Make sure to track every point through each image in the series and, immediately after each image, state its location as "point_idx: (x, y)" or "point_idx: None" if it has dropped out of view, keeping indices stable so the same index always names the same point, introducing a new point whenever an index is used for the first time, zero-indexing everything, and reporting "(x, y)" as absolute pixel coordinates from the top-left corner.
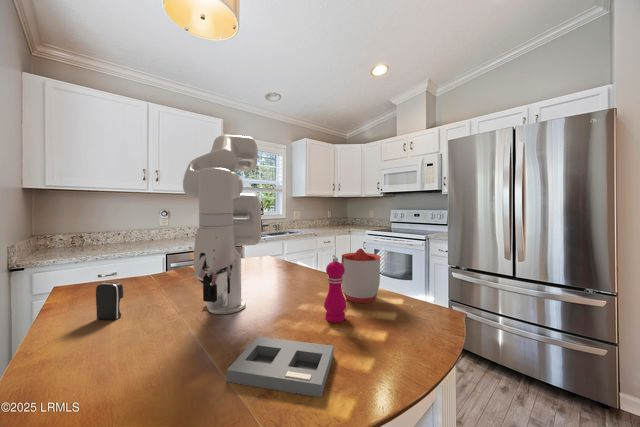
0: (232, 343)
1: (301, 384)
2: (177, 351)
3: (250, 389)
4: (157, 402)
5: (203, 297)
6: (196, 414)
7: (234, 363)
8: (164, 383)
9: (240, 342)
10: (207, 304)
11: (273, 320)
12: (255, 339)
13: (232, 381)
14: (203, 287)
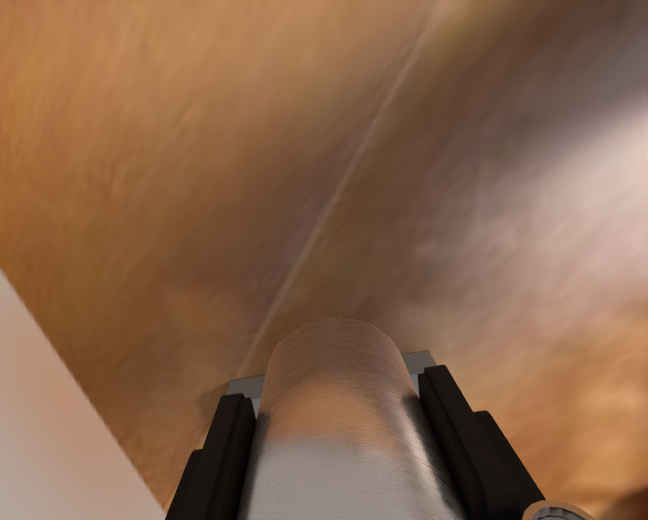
0: (416, 255)
1: None
2: (288, 81)
3: None
4: (76, 272)
5: (216, 414)
6: (107, 393)
7: (259, 403)
8: (135, 217)
9: (432, 279)
10: (267, 372)
11: (642, 293)
12: (417, 376)
13: None
14: (186, 500)
